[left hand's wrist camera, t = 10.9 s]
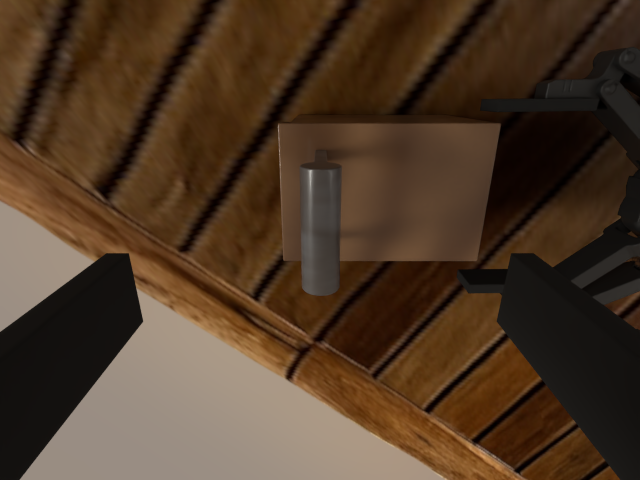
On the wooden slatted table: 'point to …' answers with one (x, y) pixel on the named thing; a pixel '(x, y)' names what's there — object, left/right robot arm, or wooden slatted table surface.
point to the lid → (382, 193)
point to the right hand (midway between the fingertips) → (474, 201)
